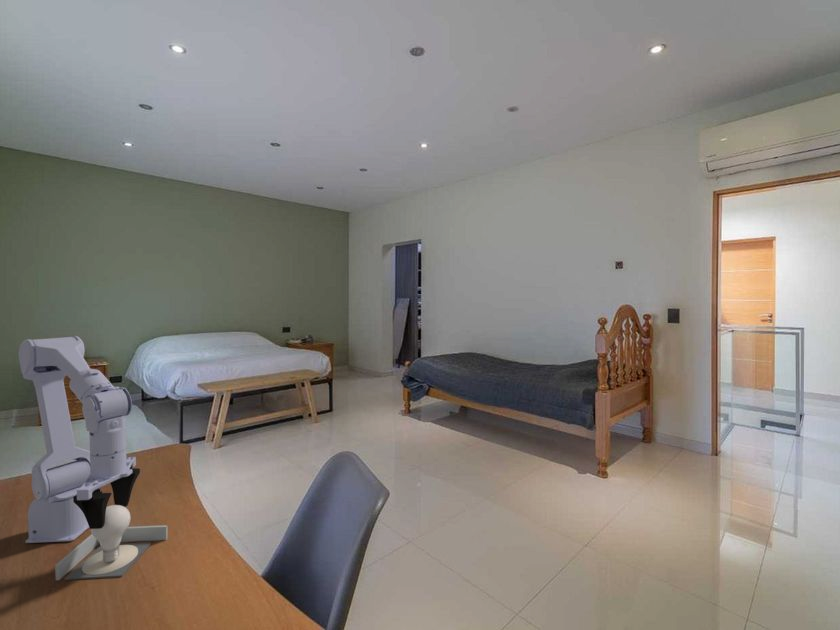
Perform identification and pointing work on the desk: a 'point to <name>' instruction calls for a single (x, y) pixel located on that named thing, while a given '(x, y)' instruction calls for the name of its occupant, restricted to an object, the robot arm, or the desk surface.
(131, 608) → the desk surface
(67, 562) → the acrylic fence
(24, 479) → the desk surface
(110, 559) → the lightbulb
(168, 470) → the desk surface
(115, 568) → the mat
